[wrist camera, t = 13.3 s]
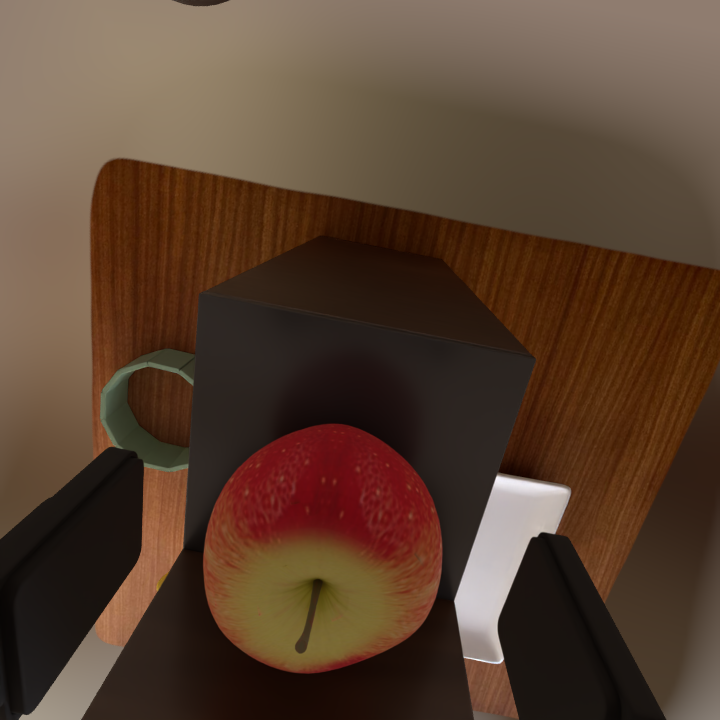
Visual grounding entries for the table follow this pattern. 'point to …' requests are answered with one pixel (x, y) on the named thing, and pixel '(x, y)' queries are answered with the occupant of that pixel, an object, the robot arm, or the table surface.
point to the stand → (317, 407)
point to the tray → (502, 556)
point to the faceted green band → (123, 421)
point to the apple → (322, 551)
